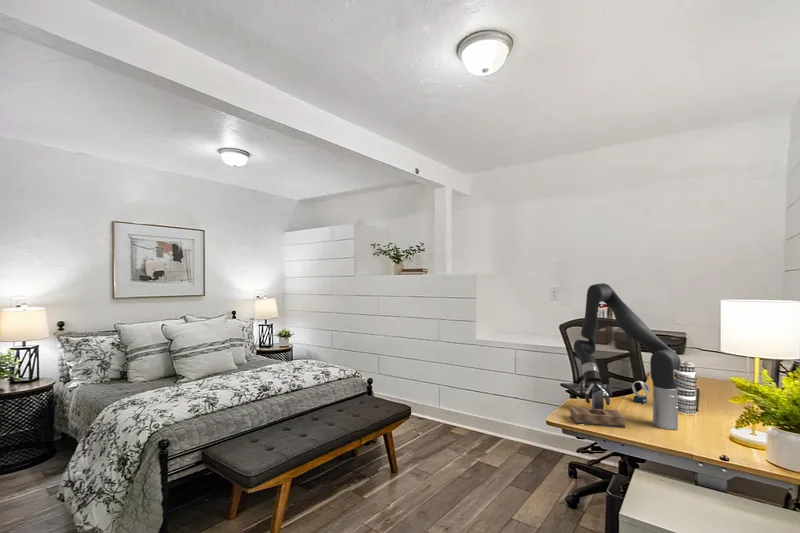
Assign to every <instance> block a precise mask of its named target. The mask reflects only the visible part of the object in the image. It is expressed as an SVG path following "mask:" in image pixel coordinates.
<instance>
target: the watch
mask: <svg viewBox="0 0 800 533" xmlns="http://www.w3.org/2000/svg"><path fill="white" fill-rule="evenodd" d="M637 383H639V384H640V386H641V388H642V390H643V391H644V392H645V395H641V394H638V391H637V389H636V387H635V385H636V384H637ZM648 385H649V384H647V383H646V382H645V381H642V380H638V381H637V380H636V381H634V382H633V383H632V385H631V390H632V393H634V395H633V403H635V402H636V404H639V403H641V404H640V405H645V404H647V403H646V402H648V395H649V394H650V387H649V386H648ZM644 403H645V404H644Z"/></svg>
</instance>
